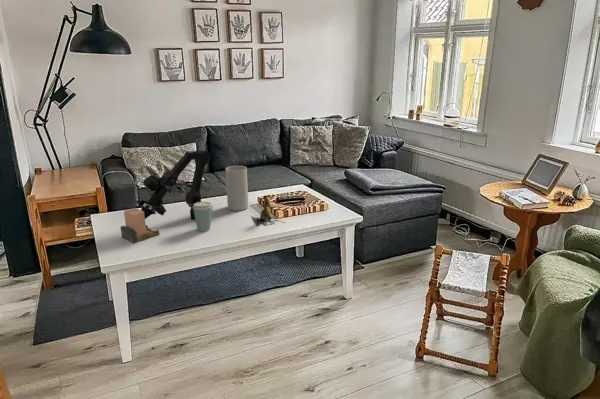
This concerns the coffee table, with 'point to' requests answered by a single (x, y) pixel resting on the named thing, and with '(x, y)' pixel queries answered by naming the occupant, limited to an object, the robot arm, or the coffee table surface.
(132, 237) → the roller track
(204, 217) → the disposable coffee cup
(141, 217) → the terracotta slab
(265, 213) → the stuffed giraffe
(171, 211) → the coffee table surface
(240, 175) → the cylinder vase
